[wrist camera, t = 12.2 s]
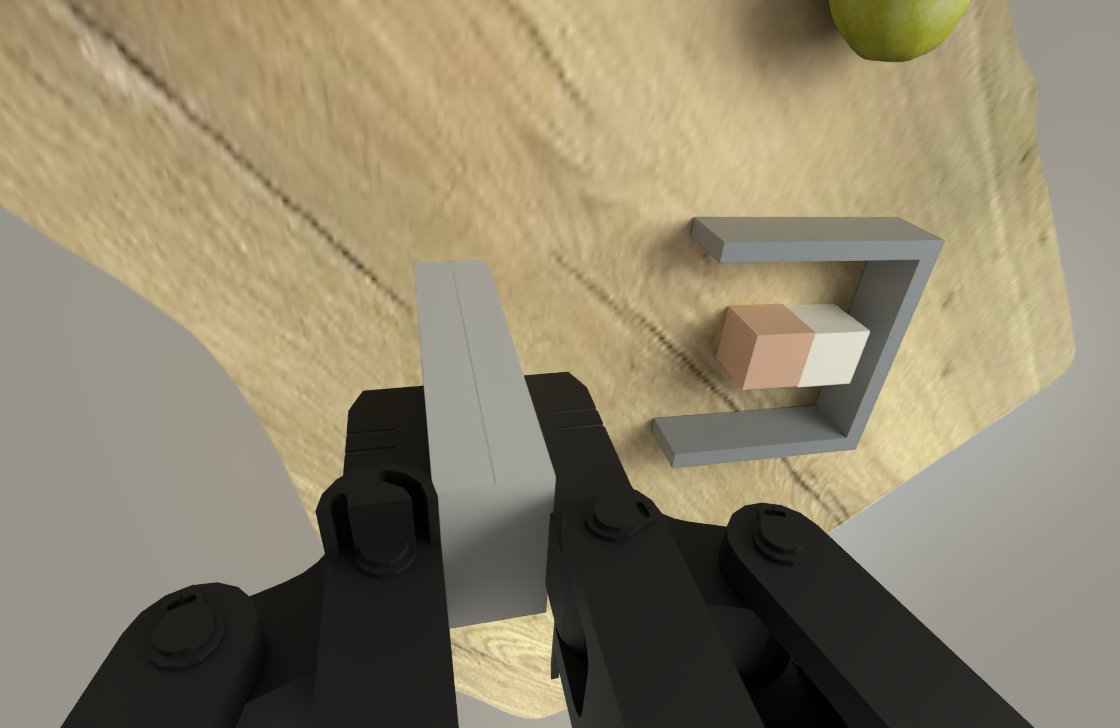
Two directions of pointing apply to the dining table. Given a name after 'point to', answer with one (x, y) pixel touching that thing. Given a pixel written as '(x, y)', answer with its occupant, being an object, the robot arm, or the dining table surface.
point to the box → (878, 305)
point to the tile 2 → (830, 344)
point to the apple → (895, 26)
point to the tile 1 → (764, 346)
